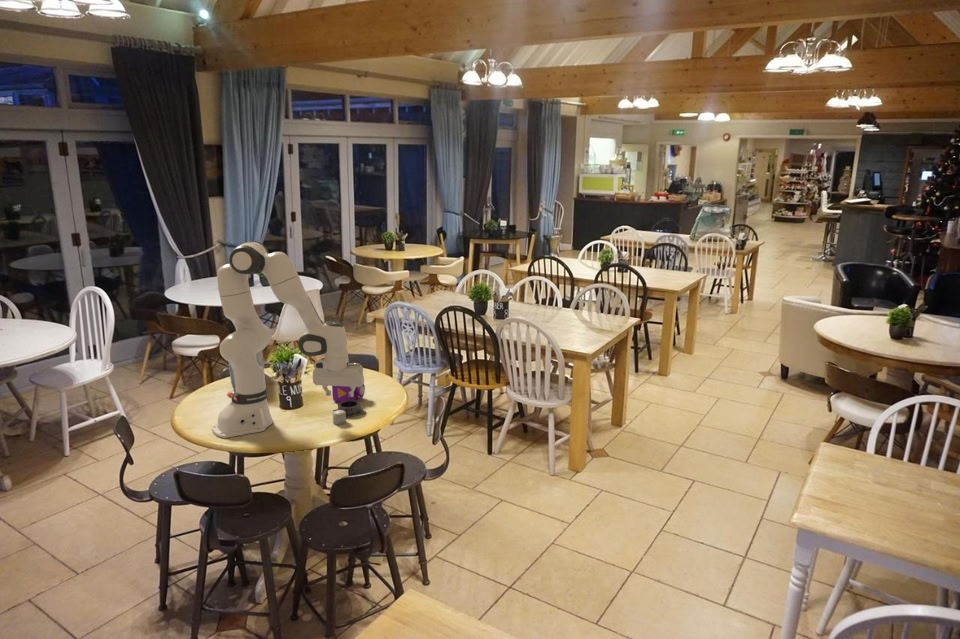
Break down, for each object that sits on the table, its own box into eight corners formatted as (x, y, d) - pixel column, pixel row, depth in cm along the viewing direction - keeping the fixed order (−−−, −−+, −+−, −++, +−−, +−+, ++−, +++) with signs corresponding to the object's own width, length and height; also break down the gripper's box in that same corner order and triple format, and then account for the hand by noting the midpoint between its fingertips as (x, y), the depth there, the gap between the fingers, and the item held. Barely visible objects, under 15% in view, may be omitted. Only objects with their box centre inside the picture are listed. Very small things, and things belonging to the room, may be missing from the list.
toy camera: (363, 404, 279) (362, 382, 276) (331, 404, 279) (330, 382, 276) (368, 395, 289) (367, 373, 287) (337, 395, 289) (336, 373, 287)
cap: (336, 426, 256) (336, 415, 255) (331, 422, 260) (330, 411, 259) (348, 423, 259) (347, 412, 258) (342, 419, 263) (341, 408, 262)
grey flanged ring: (344, 419, 263) (343, 410, 262) (332, 411, 271) (332, 403, 270) (366, 413, 269) (365, 404, 268) (354, 405, 277) (354, 397, 276)
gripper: (365, 360, 254) (367, 394, 258) (316, 359, 259) (319, 392, 262) (359, 365, 248) (361, 400, 252) (309, 363, 253) (312, 397, 256)
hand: (339, 395), depth 257 cm, fingers open, 8 cm apart
